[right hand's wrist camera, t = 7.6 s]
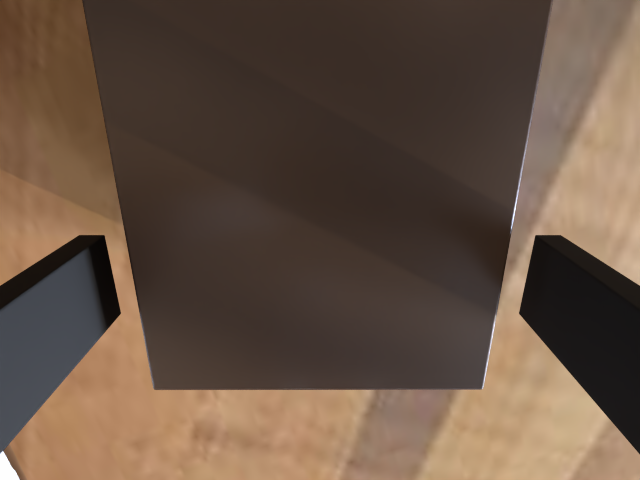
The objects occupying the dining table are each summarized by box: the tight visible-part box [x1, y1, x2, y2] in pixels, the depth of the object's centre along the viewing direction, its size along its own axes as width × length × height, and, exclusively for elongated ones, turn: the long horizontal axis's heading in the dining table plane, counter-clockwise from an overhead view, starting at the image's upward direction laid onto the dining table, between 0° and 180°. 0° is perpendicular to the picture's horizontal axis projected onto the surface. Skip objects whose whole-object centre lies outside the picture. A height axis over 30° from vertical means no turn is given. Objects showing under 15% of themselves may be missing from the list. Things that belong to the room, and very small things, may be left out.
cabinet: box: [82, 0, 553, 390], centre depth 13 cm, size 20×10×9 cm, turn 0°
